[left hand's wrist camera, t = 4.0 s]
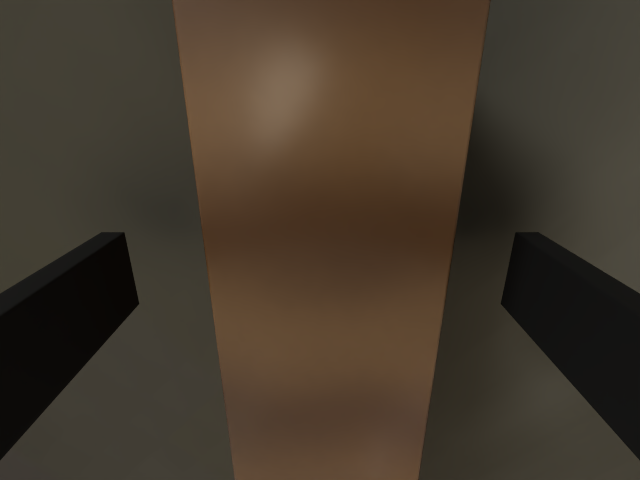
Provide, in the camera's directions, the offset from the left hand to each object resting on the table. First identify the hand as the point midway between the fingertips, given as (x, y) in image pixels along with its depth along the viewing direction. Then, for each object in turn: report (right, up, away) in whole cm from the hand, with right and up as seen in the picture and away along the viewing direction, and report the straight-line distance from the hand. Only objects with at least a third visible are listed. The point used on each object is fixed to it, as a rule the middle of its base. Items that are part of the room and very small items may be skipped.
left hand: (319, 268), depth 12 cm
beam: (0, -29, +17) cm, 33 cm away
